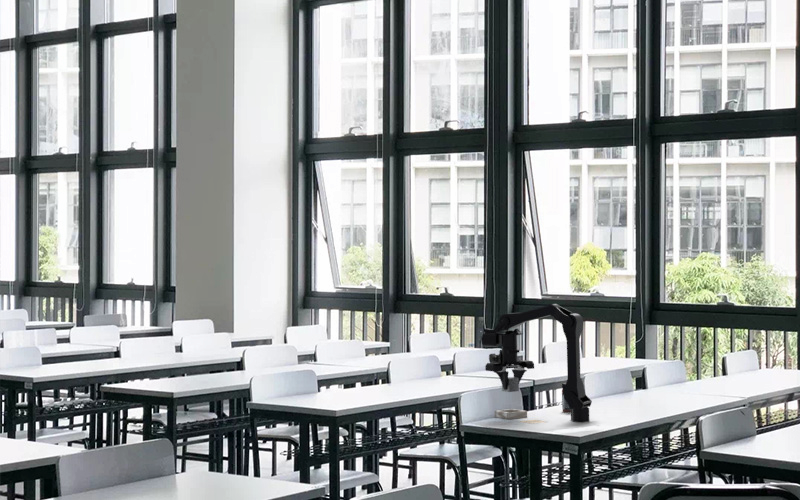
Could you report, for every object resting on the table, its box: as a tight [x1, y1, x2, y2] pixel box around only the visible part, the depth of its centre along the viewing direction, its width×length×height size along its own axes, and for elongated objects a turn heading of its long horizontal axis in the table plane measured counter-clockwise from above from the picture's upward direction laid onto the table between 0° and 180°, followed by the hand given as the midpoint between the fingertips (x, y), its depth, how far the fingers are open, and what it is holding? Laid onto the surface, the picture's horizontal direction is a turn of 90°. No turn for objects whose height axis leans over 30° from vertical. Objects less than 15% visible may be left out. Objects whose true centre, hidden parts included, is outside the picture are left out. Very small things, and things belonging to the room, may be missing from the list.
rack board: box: [492, 408, 528, 420], centre depth 393 cm, size 18×12×4 cm, turn 30°
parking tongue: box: [520, 419, 547, 425], centre depth 381 cm, size 7×7×2 cm
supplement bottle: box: [561, 388, 571, 413], centre depth 416 cm, size 6×6×11 cm
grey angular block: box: [501, 376, 520, 393], centre depth 395 cm, size 4×4×5 cm
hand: (510, 389), depth 395 cm, fingers closed on grey angular block, 4 cm apart
